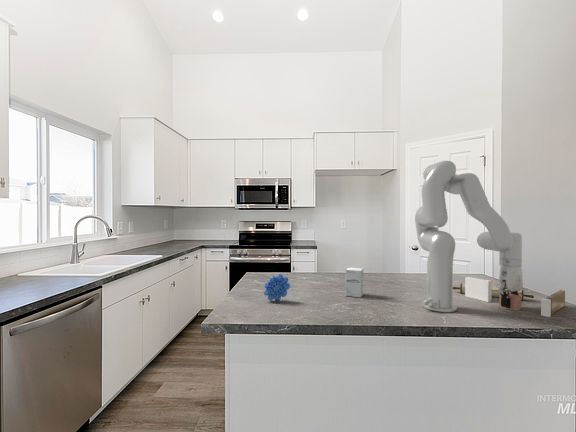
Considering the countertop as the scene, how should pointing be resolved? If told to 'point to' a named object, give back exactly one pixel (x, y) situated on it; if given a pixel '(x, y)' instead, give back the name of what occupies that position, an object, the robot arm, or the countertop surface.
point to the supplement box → (354, 282)
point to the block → (512, 302)
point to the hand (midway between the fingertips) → (509, 305)
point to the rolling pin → (494, 291)
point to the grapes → (276, 287)
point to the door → (557, 300)
